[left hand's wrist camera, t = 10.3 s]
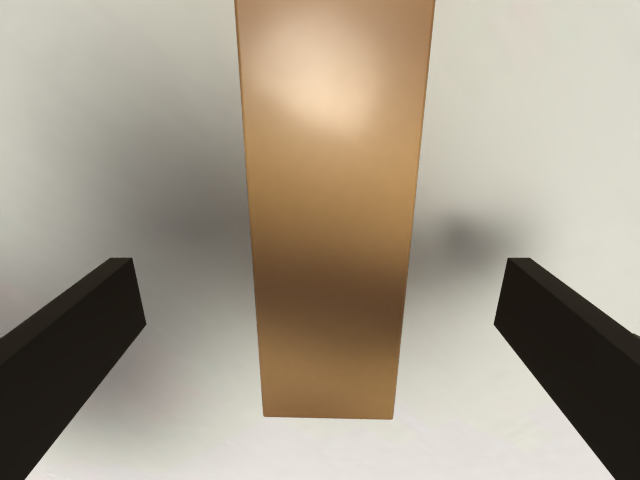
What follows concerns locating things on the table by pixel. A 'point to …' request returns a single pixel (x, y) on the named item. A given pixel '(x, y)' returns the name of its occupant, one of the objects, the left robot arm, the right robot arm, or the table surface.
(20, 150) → the table surface
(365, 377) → the wooden beam
